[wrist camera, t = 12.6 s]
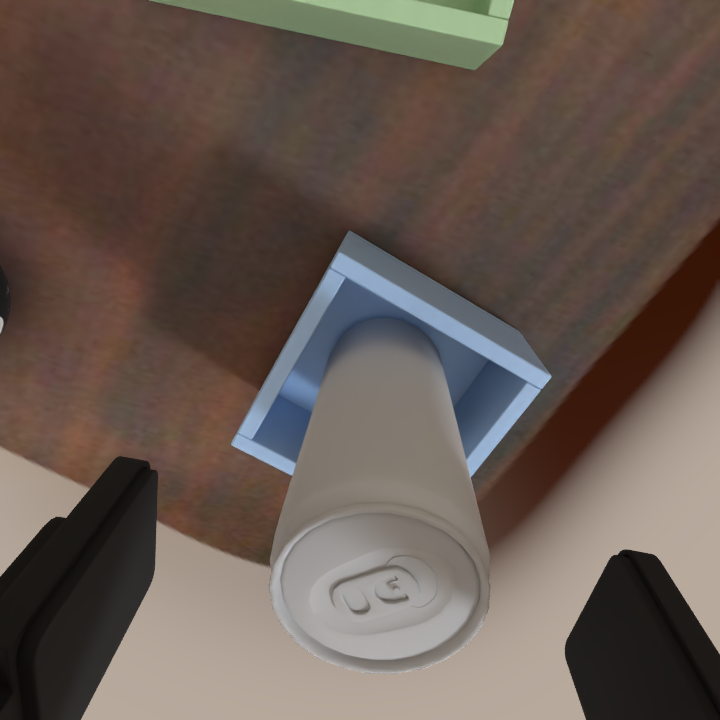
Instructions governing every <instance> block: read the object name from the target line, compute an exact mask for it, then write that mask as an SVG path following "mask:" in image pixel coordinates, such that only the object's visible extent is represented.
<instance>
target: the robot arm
mask: <svg viewBox="0 0 720 720" xmlns="http://www.w3.org/2000/svg"><path fill="white" fill-rule="evenodd" d="M157 488H158V473H157V471H156V470H151V469H150V464H149V462H147V461H143V460H138V459H133V458H127V457H122V456H119V457H117V458H116V459H115V460H114V461H113V462H112V463H111V464H110V465H109V467H108V468H107V469H106V470H105V472H104V473H103V474H102V475H101V476H100V478H99V479H98V480H97V481H96V482H95V484H94V485H93V486H92V487H91V489H90V490H89V491H88V492H87V493H86V495H85V496H84V497H83V498H82V499H81V501H80V502H79V503H78V504H77V506H76V507H75V508H74V509H73V510H72V512H71V513H70V514H69V515H68V517H67V518H63V517H55V518H53V519H51V520H50V521H49V522H48V523H47V524H46V525H45V526H44V527H43V528H42V529H41V530H40V531H39V533H38V534H37V535H36V536H35V537H34V538H33V540H32V541H31V542H30V543H29V544H28V545H27V546H26V548H25V549H24V550H23V551H22V552H21V554H20V555H19V556H18V557H17V558H16V559H15V560H14V562H13V563H12V564H11V565H10V566H9V567H8V568H7V570H6V571H5V572H4V573H3V574H2V576H1V577H0V720H81V718H82V716H83V714H84V712H85V710H86V708H87V707H88V705H89V703H90V701H91V699H92V697H93V695H94V693H95V691H96V689H97V687H98V685H99V683H100V682H101V679H102V678H103V676H104V674H105V672H106V670H107V668H108V666H109V664H110V662H111V660H112V658H113V656H114V654H115V653H116V651H117V649H118V647H119V645H120V643H121V641H122V639H123V637H124V635H125V633H126V631H127V629H128V627H129V625H130V624H131V622H132V620H133V618H134V616H135V614H136V612H137V610H138V608H139V606H140V604H141V602H142V600H143V598H144V596H145V595H146V592H147V591H148V588H149V587H150V584H151V582H152V579H153V575H154V570H155V549H156V519H157ZM565 657H566V661H567V664H568V667H569V670H570V673H571V676H572V679H573V682H574V685H575V688H576V691H577V694H578V697H579V700H580V703H581V706H582V709H583V712H584V715H585V718H586V720H720V654H719V653H718V651H717V650H716V648H715V647H714V645H713V643H712V642H711V640H710V639H709V637H708V635H707V634H706V632H705V631H704V629H703V628H702V626H701V625H700V623H699V621H698V620H697V618H696V616H695V615H694V613H693V612H692V610H691V609H690V607H689V605H688V604H687V602H686V601H685V599H684V598H683V596H682V594H681V593H680V591H679V590H678V588H677V587H676V585H675V584H674V582H673V580H672V579H671V577H670V576H669V574H668V572H667V571H666V569H665V568H664V566H663V565H662V563H661V561H660V560H659V559H658V558H657V557H656V556H655V555H653V554H648V553H643V552H637V551H632V550H622V551H620V553H619V554H618V555H613V556H612V557H611V558H610V560H609V562H608V563H607V565H606V567H605V569H604V571H603V573H602V575H601V577H600V578H599V580H598V582H597V584H596V586H595V588H594V590H593V592H592V594H591V595H590V597H589V599H588V601H587V603H586V605H585V607H584V609H583V611H582V612H581V614H580V616H579V618H578V620H577V622H576V624H575V626H574V627H573V629H572V631H571V633H570V635H569V637H568V639H567V641H566V645H565Z"/></svg>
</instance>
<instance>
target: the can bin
mask: <svg viewBox="0 0 720 720" xmlns="http://www.w3.org/2000/svg"><path fill="white" fill-rule="evenodd" d="M373 318H393V319H398V320H402V321H406V322H408V323H410V324H412V325H414V326H416V327H418V328H420V329H421V330H422V331H423V332H424V333H425V334H426V335H427V336H428V337H430V338H431V340H432V341H433V343H434V345H435V346H436V348H437V349H438V351H439V354H440V358H441V361H442V365H443V369H444V373H445V377H446V381H447V385H448V389H449V393H450V397H451V401H452V405H453V409H454V413H455V417H456V421H457V425H458V429H459V433H460V437H461V441H462V445H463V449H464V453H465V457H466V462H467V466H468V470H469V474H470V477H471V476H472V475H473V474H474V472H475V471H476V470H477V469H478V468H479V466H480V465H481V464H482V463H483V461H484V460H485V459H486V458H487V456H488V455H489V454H490V453H491V451H492V450H493V449H494V448H495V446H496V445H497V444H498V443H499V442H500V440H501V439H502V438H503V437H504V435H505V434H506V433H507V432H508V430H509V429H510V428H511V427H512V425H513V424H514V423H515V422H516V420H517V419H518V418H519V417H520V416H521V414H522V413H523V412H524V411H525V409H526V408H527V407H528V406H529V404H530V403H531V402H532V401H533V399H534V398H535V397H536V396H537V394H538V393H539V392H540V389H542V388H543V387H544V386H545V384H546V383H547V382H548V381H549V379H550V378H551V375H550V373H549V372H548V371H547V369H546V368H545V366H544V365H543V364H542V362H541V361H540V360H539V358H538V357H537V355H536V354H535V353H534V351H533V350H532V348H531V347H530V346H529V344H528V343H527V341H526V340H525V339H524V337H523V336H522V334H521V333H520V331H518V330H516V329H515V328H513V327H511V326H510V325H508V324H506V323H505V322H503V321H501V320H500V319H498V318H496V317H495V316H493V315H491V314H489V313H488V312H486V311H484V310H483V309H481V308H479V307H478V306H476V305H474V304H473V303H471V302H469V301H468V300H466V299H464V298H463V297H461V296H459V295H458V294H456V293H454V292H452V291H451V290H449V289H447V288H446V287H444V286H442V285H441V284H439V283H437V282H436V281H434V280H432V279H431V278H429V277H427V276H426V275H424V274H422V273H421V272H419V271H417V270H415V269H414V268H412V267H410V266H409V265H407V264H405V263H404V262H402V261H400V260H399V259H397V258H395V257H394V256H392V255H390V254H389V253H387V252H385V251H384V250H382V249H380V248H378V247H377V246H375V245H373V244H372V243H370V242H368V241H367V240H365V239H363V238H362V237H360V236H358V235H357V234H355V233H353V232H352V231H348V232H347V234H346V236H345V238H344V240H343V241H342V243H341V245H340V247H339V249H338V250H337V252H336V254H335V256H334V258H333V259H332V261H331V263H330V265H329V267H328V268H327V270H326V272H325V274H324V276H323V277H322V279H321V281H320V283H319V284H318V286H317V288H316V290H315V292H314V293H313V295H312V297H311V299H310V301H309V302H308V304H307V306H306V308H305V310H304V311H303V313H302V315H301V317H300V319H299V320H298V322H297V324H296V326H295V328H294V329H293V331H292V333H291V335H290V337H289V338H288V340H287V342H286V344H285V346H284V347H283V349H282V351H281V353H280V355H279V356H278V358H277V360H276V362H275V364H274V365H273V367H272V369H271V371H270V373H269V374H268V376H267V378H266V380H265V381H264V383H263V385H262V387H261V389H260V390H259V392H258V394H257V396H256V398H255V400H254V402H253V403H252V405H251V407H250V409H249V411H248V413H247V415H246V416H245V418H244V420H243V422H242V424H241V426H240V428H239V430H238V431H237V433H236V435H235V437H234V439H233V441H232V443H231V445H232V446H234V447H236V448H238V449H240V450H242V451H244V452H246V453H248V454H250V455H252V456H254V457H256V458H258V459H260V460H262V461H264V462H266V463H268V464H270V465H272V466H274V467H276V468H278V469H280V470H282V471H284V472H286V473H288V474H290V475H293V472H294V469H295V466H296V463H297V459H298V456H299V453H300V450H301V447H302V444H303V440H304V437H305V434H306V431H307V428H308V424H309V421H310V418H311V415H312V411H313V408H314V405H315V401H316V398H317V395H318V391H319V388H320V384H321V381H322V378H323V374H324V371H325V367H326V364H327V361H328V357H329V355H330V353H331V351H332V349H333V348H334V346H335V344H336V343H337V342H338V341H339V339H340V338H341V337H342V336H343V335H344V334H345V333H346V332H347V331H348V330H350V329H351V328H352V327H354V326H355V325H357V324H358V323H360V322H364V321H367V320H370V319H373Z"/></svg>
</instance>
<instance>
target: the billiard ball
mask: <svg viewBox="0 0 720 720" xmlns="http://www.w3.org/2000/svg"><path fill="white" fill-rule="evenodd" d="M9 311H10V290H9V285H8V282H7V279H6V276H5V274H4V272H3V270H2V268H1V266H0V334H1V333H2V331H3V329H4V327H5V325H6V322H7V319H8V316H9Z"/></svg>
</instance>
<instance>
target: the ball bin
mask: <svg viewBox="0 0 720 720" xmlns="http://www.w3.org/2000/svg"><path fill="white" fill-rule="evenodd" d="M149 1H154V2H158V3H163V4H168V5H172V6H177V7H182V8H186V9H191V10H196V11H200V12H205V13H210V14H214V15H219V16H224V17H228V18H233V19H238V20H242V21H247V22H252V23H256V24H261V25H266V26H270V27H275V28H280V29H284V30H289V31H294V32H298V33H303V34H308V35H312V36H317V37H322V38H326V39H331V40H336V41H340V42H345V43H350V44H354V45H359V46H364V47H368V48H373V49H378V50H382V51H387V52H392V53H396V54H401V55H406V56H410V57H415V58H420V59H424V60H429V61H434V62H438V63H443V64H448V65H452V66H457V67H462V68H466V69H471V70H476V69H477V68H478V67H479V66H480V65H481V64H482V63H484V62H485V61H486V60H487V59H488V58H489V57H490V56H491V55H492V54H493V53H494V52H495V51H496V50H498V49H499V48H500V47H501V46H502V45H503V41H504V38H505V34H506V30H507V26H508V19H509V17H510V14H511V10H512V6H513V2H514V0H149Z"/></svg>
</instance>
